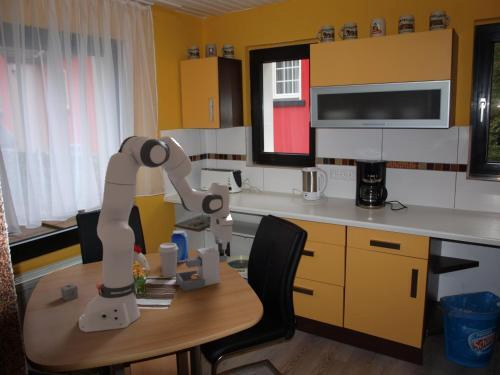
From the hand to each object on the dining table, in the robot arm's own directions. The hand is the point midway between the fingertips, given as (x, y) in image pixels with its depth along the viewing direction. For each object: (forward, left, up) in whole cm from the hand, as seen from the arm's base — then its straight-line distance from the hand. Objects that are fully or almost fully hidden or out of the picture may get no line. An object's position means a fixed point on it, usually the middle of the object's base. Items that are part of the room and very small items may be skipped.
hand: (220, 246), depth 197 cm
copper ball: (-13, 0, -14) cm, 19 cm away
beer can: (-11, +34, -16) cm, 39 cm away
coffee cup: (-21, +16, -16) cm, 31 cm away
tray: (-15, 0, -16) cm, 22 cm away
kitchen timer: (-36, +25, -16) cm, 47 cm away
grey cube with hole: (-66, +9, -16) cm, 69 cm away
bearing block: (-6, 0, -16) cm, 17 cm away
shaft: (-7, 0, -7) cm, 10 cm away
